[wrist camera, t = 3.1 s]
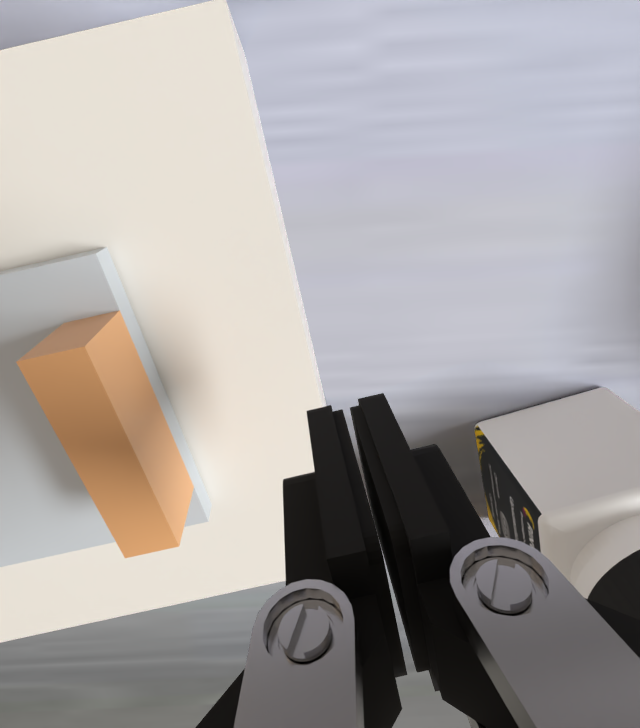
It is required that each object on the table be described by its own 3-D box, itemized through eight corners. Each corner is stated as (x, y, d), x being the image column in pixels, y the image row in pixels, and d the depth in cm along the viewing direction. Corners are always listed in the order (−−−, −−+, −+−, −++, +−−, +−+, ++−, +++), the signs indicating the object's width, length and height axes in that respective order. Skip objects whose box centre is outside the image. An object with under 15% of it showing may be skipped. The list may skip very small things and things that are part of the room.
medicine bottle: (471, 421, 24) (630, 645, 13) (605, 382, 24) (882, 580, 13) (487, 518, 27) (627, 766, 16) (606, 485, 27) (830, 715, 16)
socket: (-240, 168, 17) (-558, 180, 10) (245, 56, 16) (225, -3, 10) (7, 528, 24) (-87, 661, 18) (338, 455, 24) (359, 564, 18)
